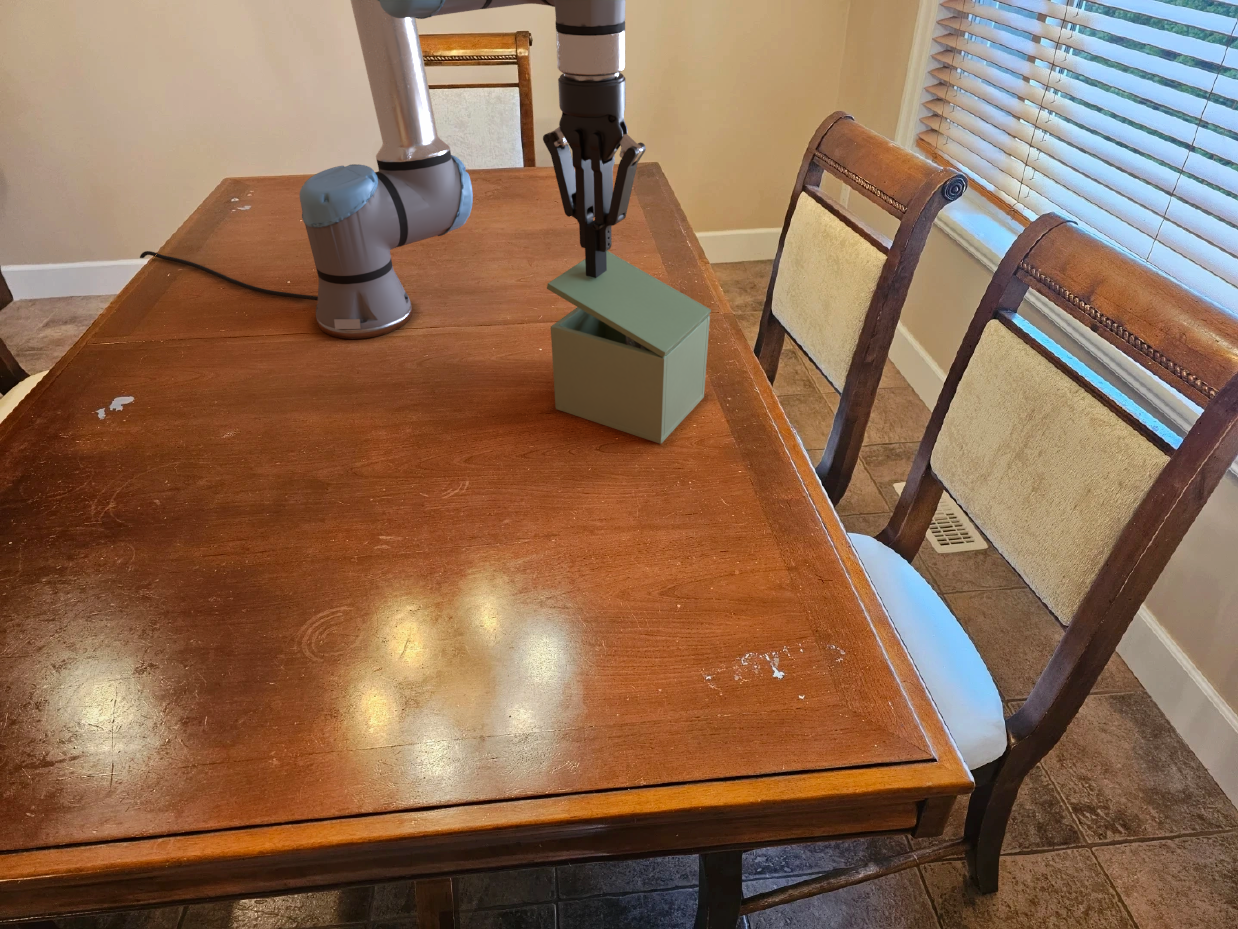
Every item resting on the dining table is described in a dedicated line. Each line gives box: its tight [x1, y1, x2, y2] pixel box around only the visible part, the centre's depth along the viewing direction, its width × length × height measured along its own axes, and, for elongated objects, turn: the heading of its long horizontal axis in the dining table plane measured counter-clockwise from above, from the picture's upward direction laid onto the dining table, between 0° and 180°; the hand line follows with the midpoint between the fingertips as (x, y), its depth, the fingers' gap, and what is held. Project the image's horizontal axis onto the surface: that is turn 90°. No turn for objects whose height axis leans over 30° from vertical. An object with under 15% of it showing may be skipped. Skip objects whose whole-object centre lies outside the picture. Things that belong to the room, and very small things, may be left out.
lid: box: [546, 250, 712, 358], centre depth 102 cm, size 18×13×1 cm
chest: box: [550, 306, 711, 445], centre depth 108 cm, size 17×13×13 cm
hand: (596, 272), depth 102 cm, fingers closed
